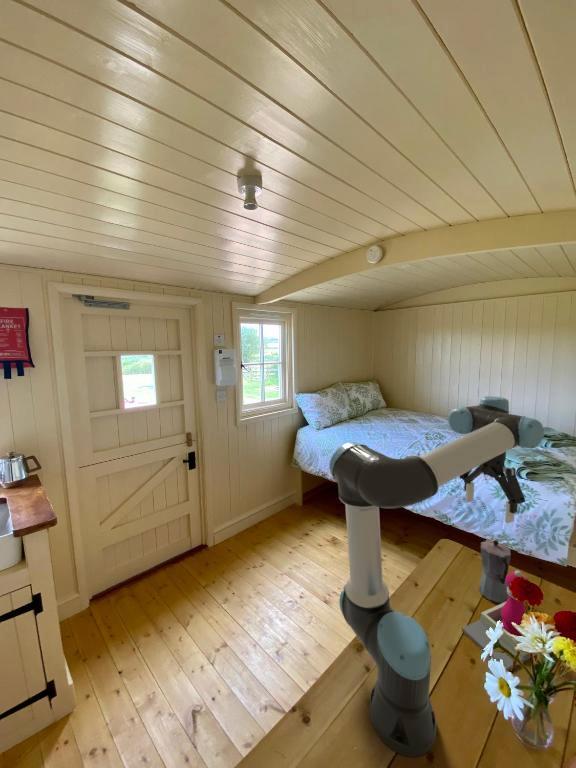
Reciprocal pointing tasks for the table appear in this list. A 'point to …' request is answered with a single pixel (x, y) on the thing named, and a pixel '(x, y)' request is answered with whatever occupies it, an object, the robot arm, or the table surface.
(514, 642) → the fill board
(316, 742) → the table surface
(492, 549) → the moka pot
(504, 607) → the pepper mill
